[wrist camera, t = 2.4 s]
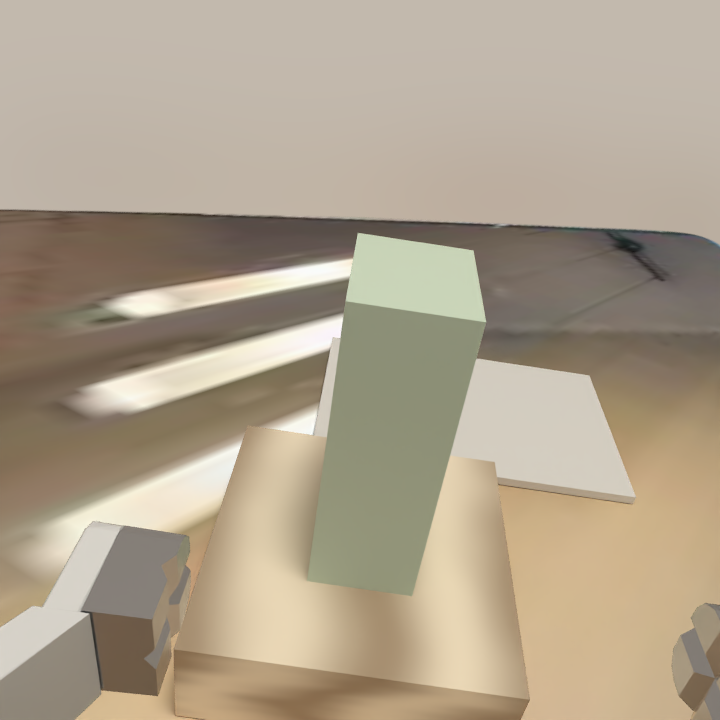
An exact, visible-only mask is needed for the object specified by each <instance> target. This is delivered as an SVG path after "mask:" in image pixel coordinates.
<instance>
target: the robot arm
mask: <svg viewBox="0 0 720 720" xmlns="http://www.w3.org/2000/svg"><path fill="white" fill-rule="evenodd" d="M189 553H190V542H189V536H186V535H181V534H174V533H168V532H162V531H156V530H149V529H143V528H137V527H130V526H122V525H115V524H109V523H102V522H95V521H93V522H92V523H91V524H90V525H89V526H88V527H87V528H86V529H85V530H84V532H83V534H82V536H81V537H80V539H79V541H78V543H77V545H76V546H75V548H74V550H73V552H72V554H71V555H70V557H69V559H68V561H67V563H66V565H65V566H64V568H63V570H62V572H61V574H60V575H59V577H58V579H57V581H56V583H55V584H54V586H53V588H52V590H51V592H50V594H49V595H48V597H47V599H46V601H45V603H44V604H43V606H42V607H39V606H31V607H30V608H28V609H27V610H25V611H24V612H22V613H21V614H19V615H18V616H16V617H15V618H13V619H12V620H10V621H9V622H7V623H6V624H4V625H3V626H1V627H0V720H75V719H76V718H77V717H78V716H79V715H80V714H81V713H82V712H83V711H84V710H85V709H86V708H87V707H88V706H89V705H90V704H92V703H93V702H94V701H95V700H96V699H97V698H98V697H99V696H100V695H101V690H103V691H113V692H122V693H132V694H142V695H152V696H158V694H159V691H160V688H161V685H162V682H163V680H164V677H165V674H166V671H167V668H168V665H169V662H170V659H171V637H172V636H174V635H175V634H176V633H177V632H179V631H180V629H181V626H182V623H183V619H184V616H185V613H186V608H187V604H188V599H189V594H190V583H191V571H190V569H189V568H188V567H187V566H186V562H187V559H188V556H189ZM691 619H692V622H693V624H694V627H695V628H694V629H692V630H690V631H688V632H686V633H684V634H682V635H680V637H679V639H678V641H677V643H676V645H675V647H674V649H673V658H672V672H673V679H674V683H675V686H676V689H677V692H678V695H679V697H680V698H681V699H682V700H683V701H684V702H685V703H686V704H687V705H688V706H689V707H690V708H691V709H692V710H693V711H694V712H693V714H692V717H691V719H690V720H720V605H716V604H708V603H704V604H702V605H701V606H699V607H697V608H696V610H695V612H694V613H693V615H692V617H691Z"/></svg>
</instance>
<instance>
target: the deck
mask: <svg viewBox="0 0 720 720" xmlns="http://www.w3.org/2000/svg"><path fill="white" fill-rule="evenodd" d="M326 440H327V437H321V436H314V435H308V434H301V433H294V432H287V431H280V430H274V429H267V428H260V427H253V426H247V429H246V432H245V435H244V438H243V441H242V444H241V447H240V450H239V453H238V456H237V459H236V463H235V466H234V469H233V472H232V475H231V478H230V481H229V484H228V487H227V490H226V493H225V496H224V499H223V502H222V505H221V508H220V511H219V514H218V517H217V520H216V523H215V526H214V529H213V532H212V535H211V538H210V541H209V544H208V547H207V550H206V553H205V556H204V559H203V562H202V565H201V568H200V571H199V574H198V577H197V580H196V583H195V586H194V590H193V593H192V596H191V599H190V602H189V605H188V608H187V611H186V614H185V617H184V620H183V623H182V626H181V629H180V632H179V635H178V638H177V641H176V644H175V647H174V680H175V715H176V716H183V717H190V718H197V719H204V720H521V718H522V715H523V713H524V711H525V709H526V707H527V705H528V703H529V701H530V697H529V690H528V683H527V677H526V670H525V663H524V656H523V650H522V643H521V636H520V629H519V623H518V616H517V609H516V602H515V596H514V589H513V582H512V575H511V569H510V562H509V555H508V548H507V542H506V535H505V528H504V521H503V515H502V508H501V501H500V494H499V488H498V481H497V474H496V467H495V462H491V461H484V460H477V459H471V458H464V457H457V456H450V458H449V462H448V465H447V469H446V473H445V476H444V480H443V484H442V488H441V491H440V495H439V499H438V502H437V506H436V510H435V513H434V517H433V521H432V525H431V528H430V532H429V536H428V539H427V543H426V547H425V551H424V554H423V558H422V562H421V565H420V569H419V573H418V576H417V580H416V584H415V588H414V591H413V595H412V596H407V595H400V594H393V593H386V592H379V591H372V590H365V589H358V588H351V587H344V586H337V585H330V584H324V583H317V582H310V581H307V577H308V570H309V563H310V556H311V548H312V541H313V534H314V527H315V520H316V512H317V505H318V498H319V491H320V483H321V476H322V469H323V462H324V454H325V447H326Z"/></svg>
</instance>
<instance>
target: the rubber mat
mask: <svg viewBox="0 0 720 720" xmlns="http://www.w3.org/2000/svg"><path fill="white" fill-rule="evenodd" d="M340 339H341V338H335V337H333V339H332V344H331V349H330V355H329V360H328V365H327V370H326V375H325V380H324V385H323V390H322V395H321V400H320V405H319V411H318V416H317V421H316V426H315V431H314V436H321V437H327V433H328V425H329V418H330V411H331V404H332V396H333V389H334V382H335V375H336V367H337V360H338V353H339V346H340ZM450 456H457V457H464V458H471V459H477V460H484V461H491V462H495V467H496V474H497V481H498V484H500V485H507V486H514V487H520V488H527V489H534V490H541V491H548V492H555V493H561V494H568V495H575V496H582V497H589V498H595V499H602V500H609V501H616V502H623V503H630V504H633V503H634V501H635V498H636V496H635V494H634V491H633V488H632V486H631V483H630V481H629V478H628V475H627V473H626V470H625V468H624V465H623V462H622V460H621V457H620V455H619V452H618V449H617V447H616V444H615V441H614V439H613V436H612V434H611V431H610V428H609V426H608V423H607V421H606V418H605V415H604V413H603V410H602V408H601V405H600V402H599V400H598V397H597V395H596V392H595V389H594V387H593V384H592V382H591V379H590V376H589V375H582V374H576V373H569V372H562V371H556V370H549V369H542V368H536V367H529V366H522V365H516V364H509V363H502V362H495V361H489V360H482V359H476V361H475V365H474V369H473V373H472V376H471V380H470V384H469V387H468V391H467V395H466V399H465V402H464V406H463V410H462V413H461V417H460V421H459V425H458V428H457V432H456V436H455V439H454V443H453V447H452V450H451V454H450Z"/></svg>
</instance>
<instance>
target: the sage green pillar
mask: <svg viewBox="0 0 720 720" xmlns="http://www.w3.org/2000/svg"><path fill="white" fill-rule="evenodd" d="M485 324H486V319H485V313H484V308H483V302H482V297H481V291H480V285H479V280H478V274H477V268H476V263H475V257H474V252H473V250H466V249H459V248H453V247H446V246H440V245H433V244H427V243H420V242H413V241H407V240H400V239H394V238H387V237H381V236H374V235H367V234H361V233H358V236H357V241H356V247H355V252H354V258H353V263H352V269H351V274H350V280H349V285H348V291H347V297H346V302H345V310H344V317H343V324H342V331H341V339H340V346H339V353H338V360H337V367H336V375H335V382H334V389H333V396H332V404H331V411H330V418H329V425H328V433H327V440H326V447H325V454H324V462H323V469H322V476H321V483H320V491H319V498H318V505H317V512H316V520H315V527H314V534H313V541H312V548H311V556H310V563H309V570H308V577H307V581H310V582H317V583H324V584H330V585H337V586H344V587H351V588H358V589H365V590H372V591H379V592H386V593H393V594H400V595H407V596H412V595H413V591H414V588H415V584H416V580H417V576H418V573H419V569H420V565H421V562H422V558H423V554H424V551H425V547H426V543H427V539H428V536H429V532H430V528H431V525H432V521H433V517H434V513H435V510H436V506H437V502H438V499H439V495H440V491H441V488H442V484H443V480H444V476H445V473H446V469H447V465H448V462H449V458H450V454H451V450H452V447H453V443H454V439H455V436H456V432H457V428H458V425H459V421H460V417H461V413H462V410H463V406H464V402H465V399H466V395H467V391H468V387H469V384H470V380H471V376H472V373H473V369H474V365H475V361H476V358H477V354H478V350H479V347H480V343H481V339H482V336H483V332H484V328H485Z"/></svg>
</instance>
